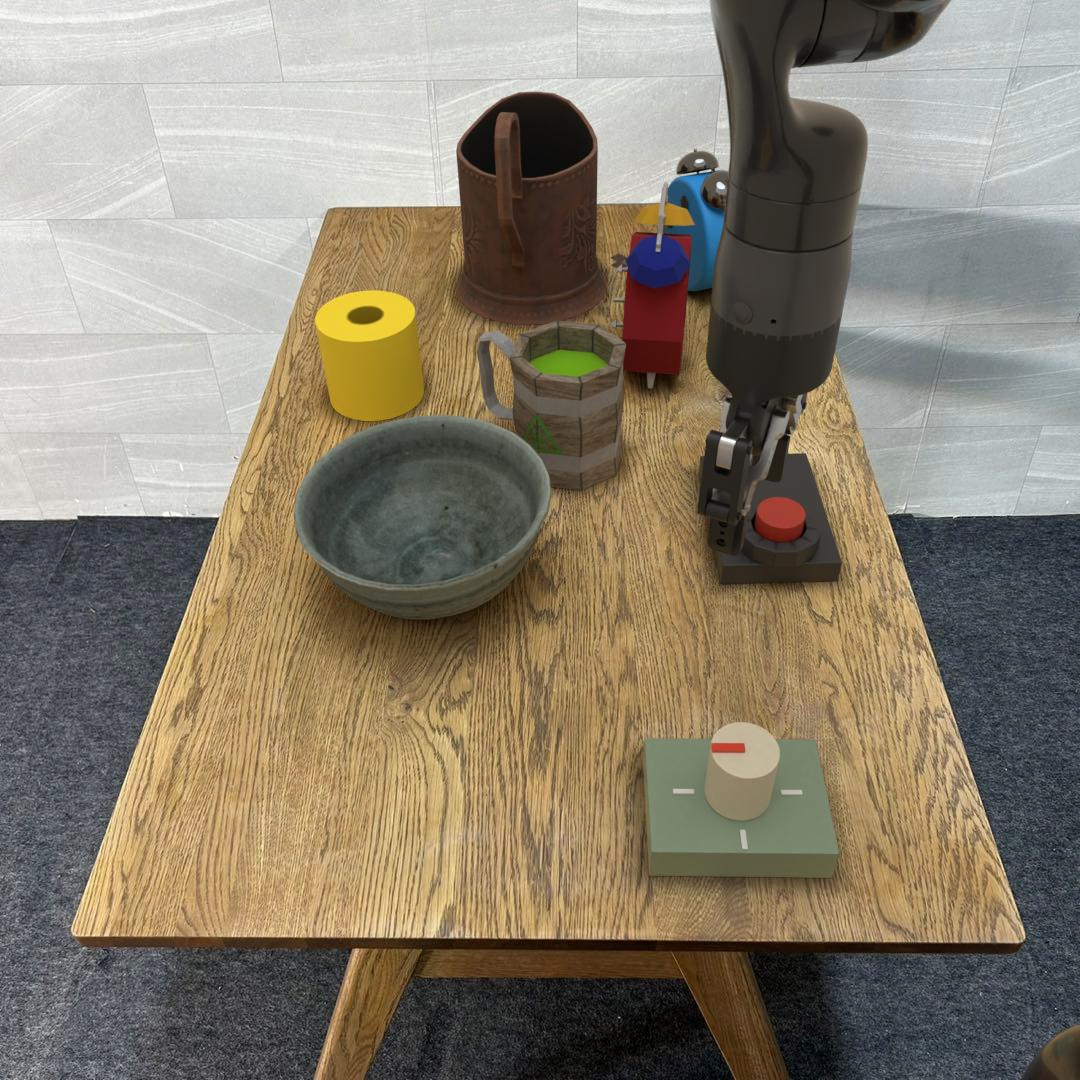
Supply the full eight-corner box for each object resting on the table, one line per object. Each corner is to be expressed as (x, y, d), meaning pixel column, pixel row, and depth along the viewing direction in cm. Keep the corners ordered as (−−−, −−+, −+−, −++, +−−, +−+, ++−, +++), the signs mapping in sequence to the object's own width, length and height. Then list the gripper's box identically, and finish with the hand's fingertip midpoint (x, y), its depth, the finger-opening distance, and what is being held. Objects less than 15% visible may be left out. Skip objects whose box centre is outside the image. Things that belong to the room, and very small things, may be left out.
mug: (644, 445, 103) (650, 340, 95) (586, 505, 97) (587, 398, 89) (515, 397, 110) (510, 295, 102) (452, 450, 104) (441, 345, 95)
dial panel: (809, 764, 75) (816, 737, 73) (832, 878, 68) (840, 852, 66) (642, 762, 76) (644, 736, 73) (648, 876, 69) (651, 850, 67)
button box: (839, 584, 88) (847, 550, 86) (721, 588, 88) (725, 553, 86) (802, 470, 100) (809, 437, 97) (698, 473, 100) (701, 440, 97)
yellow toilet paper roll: (323, 421, 108) (307, 342, 101) (337, 368, 115) (323, 291, 109) (419, 420, 107) (409, 340, 101) (428, 366, 115) (419, 289, 108)
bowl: (598, 551, 92) (600, 462, 85) (457, 710, 79) (446, 620, 73) (414, 474, 101) (402, 387, 94) (260, 606, 88) (234, 517, 81)
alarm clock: (748, 304, 123) (763, 180, 113) (699, 313, 122) (711, 189, 112) (701, 254, 132) (712, 136, 122) (656, 263, 131) (663, 144, 121)
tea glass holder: (614, 253, 133) (619, 46, 116) (593, 355, 116) (596, 129, 99) (471, 246, 135) (457, 42, 119) (430, 345, 118) (406, 122, 101)
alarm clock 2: (678, 404, 108) (693, 222, 95) (596, 398, 110) (599, 218, 96) (686, 329, 119) (700, 157, 106) (611, 324, 120) (615, 153, 107)
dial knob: (765, 765, 71) (775, 719, 68) (774, 821, 68) (785, 775, 65) (701, 764, 72) (707, 718, 68) (707, 820, 68) (714, 775, 65)
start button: (806, 542, 87) (810, 527, 86) (758, 544, 87) (761, 528, 86) (797, 511, 90) (800, 496, 89) (751, 512, 90) (753, 497, 89)
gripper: (803, 374, 54) (765, 595, 65) (874, 258, 63) (830, 469, 74) (669, 341, 57) (654, 558, 68) (755, 235, 66) (730, 441, 77)
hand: (746, 511), depth 71 cm, fingers open, 8 cm apart
